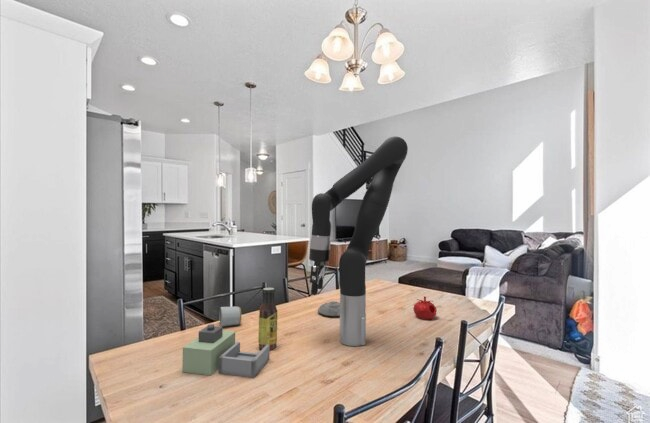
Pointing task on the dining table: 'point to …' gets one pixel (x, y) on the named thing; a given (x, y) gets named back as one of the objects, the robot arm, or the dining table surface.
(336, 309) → the flying saucer
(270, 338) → the sauce bottle
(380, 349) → the dining table surface
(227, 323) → the white cylinder
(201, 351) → the knobbed green block
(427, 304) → the red round fruit
